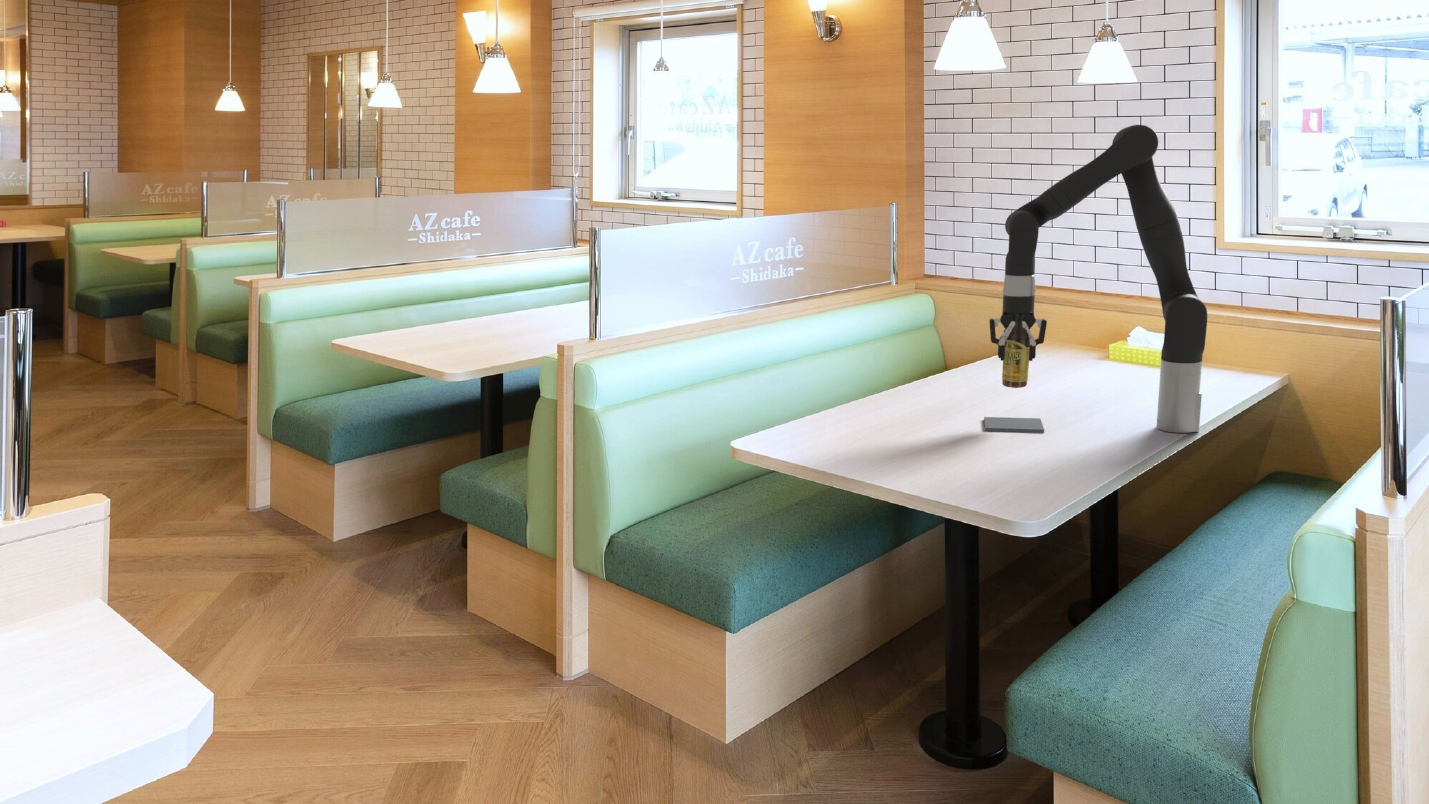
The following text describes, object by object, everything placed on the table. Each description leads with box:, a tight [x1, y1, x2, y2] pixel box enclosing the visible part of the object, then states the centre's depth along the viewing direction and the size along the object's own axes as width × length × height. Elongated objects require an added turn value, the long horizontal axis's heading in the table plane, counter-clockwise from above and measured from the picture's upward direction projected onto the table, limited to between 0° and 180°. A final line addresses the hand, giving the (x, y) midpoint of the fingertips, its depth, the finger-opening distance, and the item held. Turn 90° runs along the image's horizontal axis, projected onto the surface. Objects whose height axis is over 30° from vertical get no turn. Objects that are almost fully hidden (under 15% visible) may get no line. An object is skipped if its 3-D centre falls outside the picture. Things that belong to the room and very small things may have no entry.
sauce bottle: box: [1001, 314, 1031, 389], centre depth 272 cm, size 6×6×20 cm
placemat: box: [983, 416, 1045, 434], centre depth 276 cm, size 14×12×1 cm
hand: (1016, 360), depth 272 cm, fingers closed on sauce bottle, 6 cm apart
